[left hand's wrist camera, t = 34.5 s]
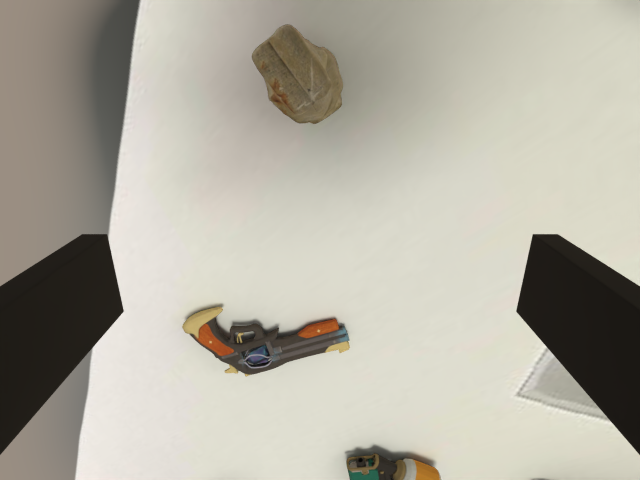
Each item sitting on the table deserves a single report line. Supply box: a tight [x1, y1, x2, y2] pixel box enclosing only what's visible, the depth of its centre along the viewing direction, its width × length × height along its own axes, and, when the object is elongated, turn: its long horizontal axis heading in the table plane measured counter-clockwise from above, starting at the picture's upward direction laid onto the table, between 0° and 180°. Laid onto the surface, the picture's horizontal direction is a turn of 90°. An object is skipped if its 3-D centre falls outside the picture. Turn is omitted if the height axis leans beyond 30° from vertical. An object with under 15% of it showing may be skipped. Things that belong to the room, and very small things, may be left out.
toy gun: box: [182, 307, 350, 376], centre depth 48 cm, size 3×19×10 cm
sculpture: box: [252, 24, 343, 124], centre depth 32 cm, size 6×7×15 cm
